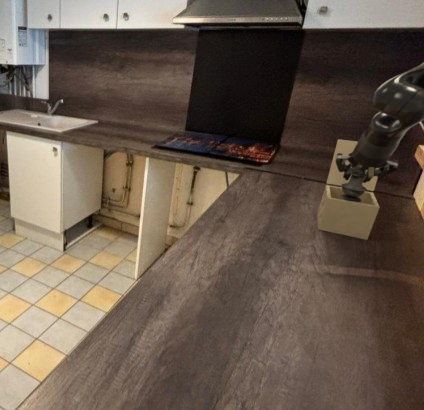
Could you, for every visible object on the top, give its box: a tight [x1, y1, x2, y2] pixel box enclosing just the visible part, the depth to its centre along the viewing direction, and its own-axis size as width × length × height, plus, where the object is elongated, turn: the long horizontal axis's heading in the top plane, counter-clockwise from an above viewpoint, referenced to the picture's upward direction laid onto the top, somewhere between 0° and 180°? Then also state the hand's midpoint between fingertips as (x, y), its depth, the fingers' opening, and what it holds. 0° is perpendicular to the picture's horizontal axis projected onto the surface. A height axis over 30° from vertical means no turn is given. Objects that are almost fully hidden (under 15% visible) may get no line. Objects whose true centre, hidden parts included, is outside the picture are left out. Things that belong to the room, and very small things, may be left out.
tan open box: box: [316, 184, 381, 241], centre depth 104 cm, size 13×12×10 cm
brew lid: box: [326, 138, 379, 192], centre depth 108 cm, size 14×12×4 cm
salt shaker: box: [339, 169, 368, 202], centre depth 100 cm, size 6×6×12 cm
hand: (355, 178), depth 102 cm, fingers closed on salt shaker, 3 cm apart
